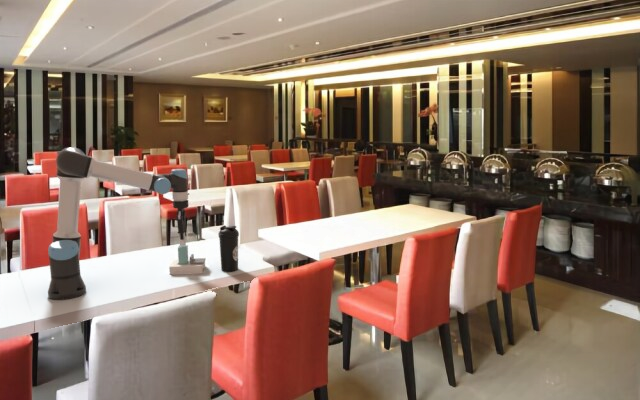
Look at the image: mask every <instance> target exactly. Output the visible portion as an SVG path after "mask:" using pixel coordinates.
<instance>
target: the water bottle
mask: <svg viewBox="0 0 640 400" xmlns="http://www.w3.org/2000/svg"><path fill="white" fill-rule="evenodd" d="M236 228H237V225H231V226H227V225H222V226H221V227H219V231H218V238H219V251H220V265H221V267H220V268H221V269H220V270H221V271H222V272H223V273H233V272H236V271H238V270H239V235H240V234H239V233H240V232H239V231H238V229H236Z"/></svg>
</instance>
